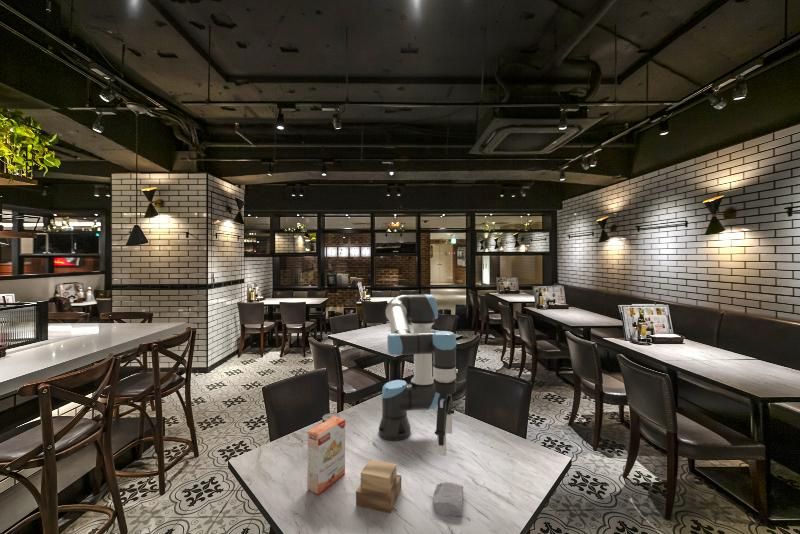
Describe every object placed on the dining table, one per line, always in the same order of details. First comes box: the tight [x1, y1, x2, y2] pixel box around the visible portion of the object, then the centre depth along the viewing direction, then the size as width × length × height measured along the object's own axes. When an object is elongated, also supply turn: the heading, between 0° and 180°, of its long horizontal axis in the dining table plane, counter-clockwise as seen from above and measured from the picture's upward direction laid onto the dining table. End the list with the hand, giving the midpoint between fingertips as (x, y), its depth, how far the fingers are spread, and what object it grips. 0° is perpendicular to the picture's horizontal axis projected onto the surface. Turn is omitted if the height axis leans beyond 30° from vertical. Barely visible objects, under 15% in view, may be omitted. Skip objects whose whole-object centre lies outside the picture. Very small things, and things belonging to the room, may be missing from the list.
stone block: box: [432, 481, 464, 517], centre depth 108 cm, size 12×5×10 cm
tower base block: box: [355, 474, 402, 514], centre depth 111 cm, size 12×12×5 cm
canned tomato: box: [321, 412, 341, 423], centre depth 146 cm, size 8×8×11 cm
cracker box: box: [306, 416, 346, 495], centre depth 119 cm, size 14×6×21 cm, turn 148°
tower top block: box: [360, 458, 397, 494], centre depth 111 cm, size 8×10×5 cm
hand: (445, 442), depth 108 cm, fingers open, 13 cm apart
